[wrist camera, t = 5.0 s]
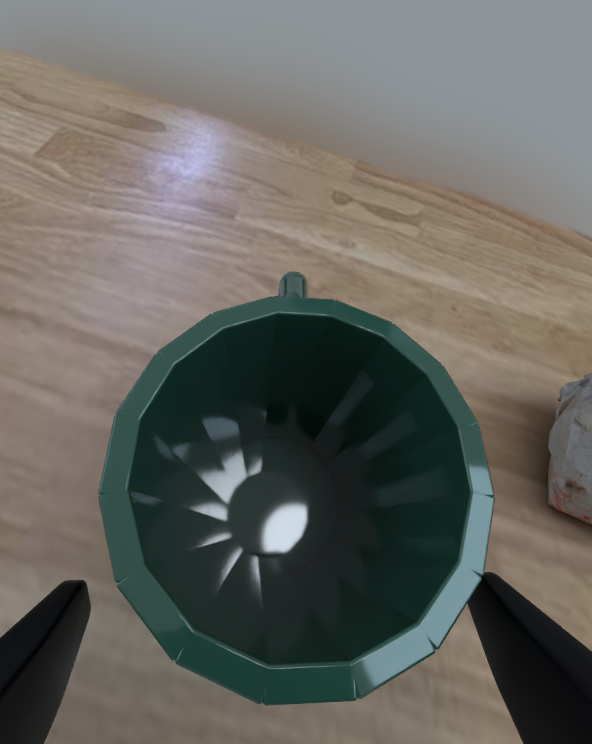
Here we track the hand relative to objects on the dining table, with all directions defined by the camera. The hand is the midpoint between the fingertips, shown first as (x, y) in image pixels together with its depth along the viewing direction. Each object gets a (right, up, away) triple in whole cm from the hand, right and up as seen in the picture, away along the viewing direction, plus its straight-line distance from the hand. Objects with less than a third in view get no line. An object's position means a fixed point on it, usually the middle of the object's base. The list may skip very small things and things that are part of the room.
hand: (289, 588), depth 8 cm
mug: (-1, 0, +10) cm, 10 cm away
